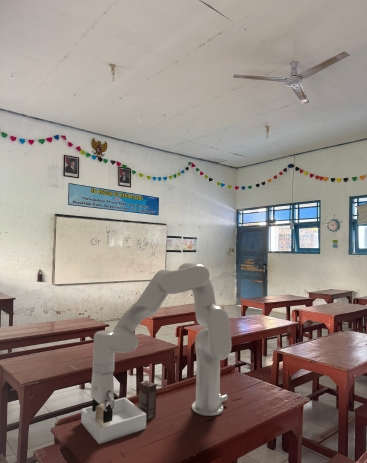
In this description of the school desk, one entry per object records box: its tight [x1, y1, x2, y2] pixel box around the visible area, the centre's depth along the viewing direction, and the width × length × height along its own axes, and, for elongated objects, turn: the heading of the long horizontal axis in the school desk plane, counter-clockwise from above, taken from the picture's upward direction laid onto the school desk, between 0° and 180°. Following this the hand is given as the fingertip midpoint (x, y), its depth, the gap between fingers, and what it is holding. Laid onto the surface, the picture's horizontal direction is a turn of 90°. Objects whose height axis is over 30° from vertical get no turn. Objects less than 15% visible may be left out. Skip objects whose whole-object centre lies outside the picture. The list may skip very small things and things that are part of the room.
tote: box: [80, 397, 147, 445], centre depth 124 cm, size 18×17×5 cm
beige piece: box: [95, 404, 110, 427], centre depth 121 cm, size 5×5×7 cm
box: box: [137, 380, 157, 420], centre depth 132 cm, size 6×4×12 cm
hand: (101, 415), depth 121 cm, fingers open, 9 cm apart
